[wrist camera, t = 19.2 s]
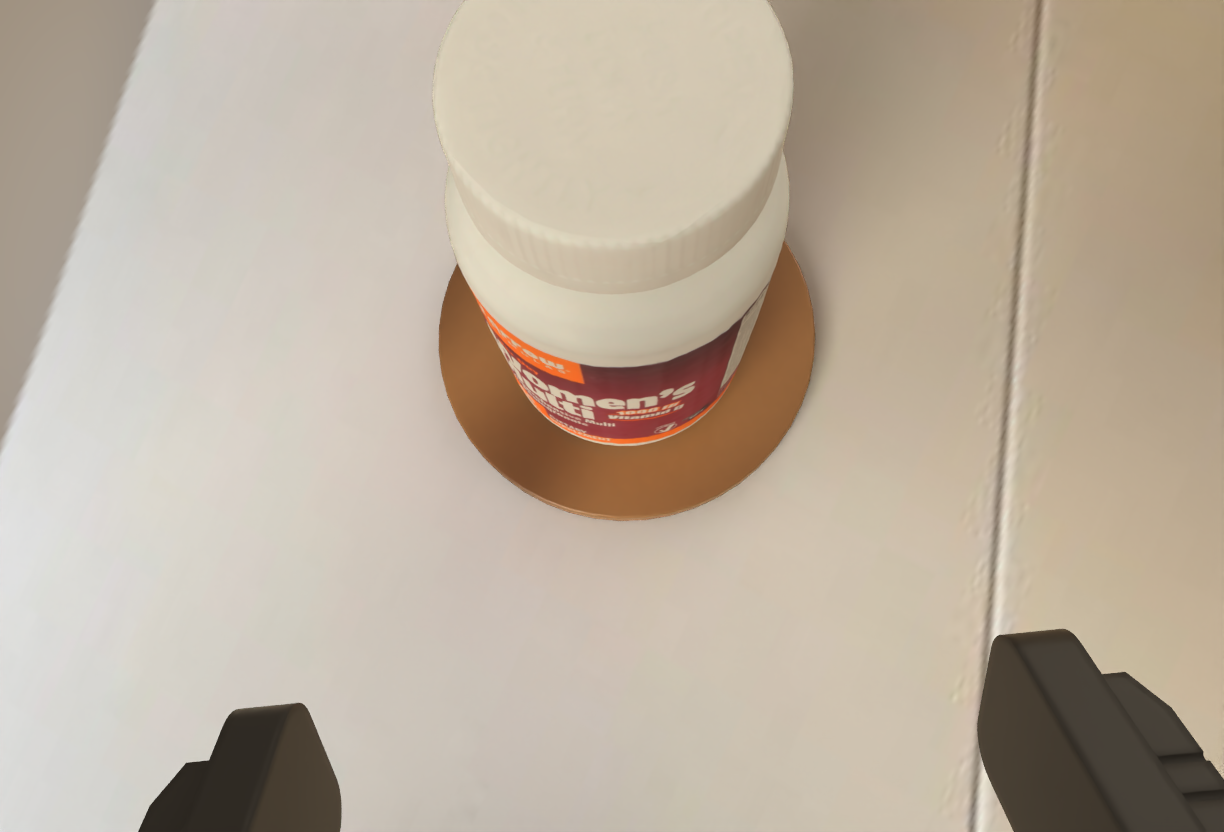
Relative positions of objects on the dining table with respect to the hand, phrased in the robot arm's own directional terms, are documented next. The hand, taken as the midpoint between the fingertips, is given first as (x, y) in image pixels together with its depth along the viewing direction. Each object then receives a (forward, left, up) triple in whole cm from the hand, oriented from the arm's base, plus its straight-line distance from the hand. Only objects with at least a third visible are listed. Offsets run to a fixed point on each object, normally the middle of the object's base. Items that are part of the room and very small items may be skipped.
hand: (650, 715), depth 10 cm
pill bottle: (-4, +7, -11) cm, 14 cm away
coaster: (-4, +8, -12) cm, 15 cm away
